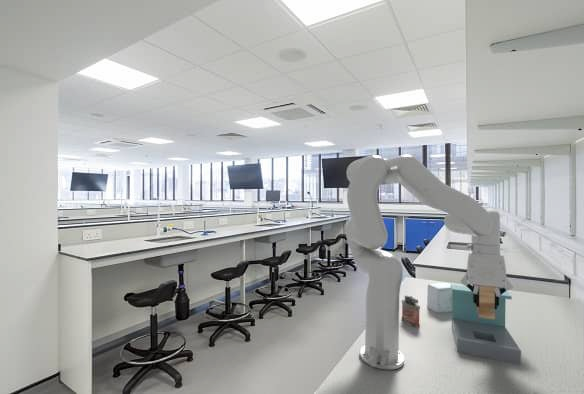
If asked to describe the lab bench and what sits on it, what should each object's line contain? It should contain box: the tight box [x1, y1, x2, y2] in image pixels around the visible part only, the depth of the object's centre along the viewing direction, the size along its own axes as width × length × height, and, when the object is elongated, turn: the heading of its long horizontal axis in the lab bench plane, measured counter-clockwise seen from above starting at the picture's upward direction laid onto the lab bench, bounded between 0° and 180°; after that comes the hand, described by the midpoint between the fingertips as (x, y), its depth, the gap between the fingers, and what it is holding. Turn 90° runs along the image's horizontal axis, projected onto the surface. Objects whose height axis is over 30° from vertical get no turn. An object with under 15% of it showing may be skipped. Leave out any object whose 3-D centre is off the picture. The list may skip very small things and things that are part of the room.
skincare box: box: [426, 282, 452, 314], centre depth 124 cm, size 10×6×10 cm, turn 107°
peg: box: [477, 286, 495, 320], centre depth 92 cm, size 4×4×10 cm
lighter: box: [401, 294, 421, 328], centre depth 110 cm, size 8×3×10 cm, turn 21°
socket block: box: [451, 284, 522, 365], centre depth 95 cm, size 18×17×16 cm
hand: (485, 306), depth 91 cm, fingers closed on peg, 4 cm apart
